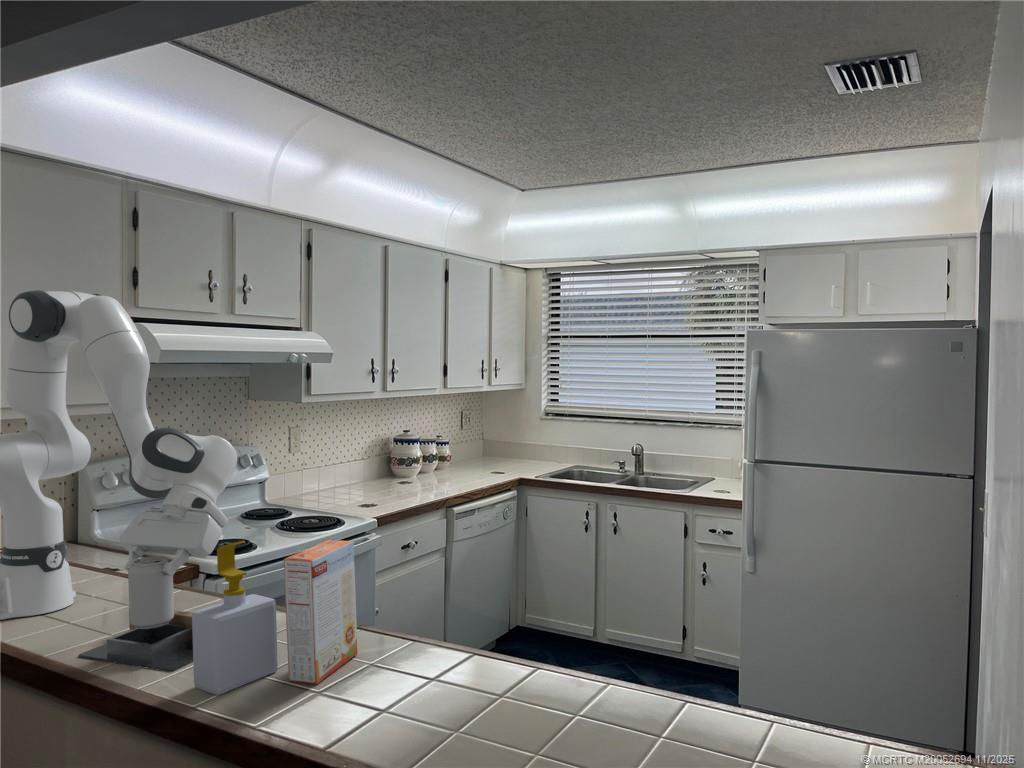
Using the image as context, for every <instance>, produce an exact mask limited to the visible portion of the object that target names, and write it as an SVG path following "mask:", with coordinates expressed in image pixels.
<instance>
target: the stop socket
mask: <svg viewBox="0 0 1024 768" xmlns="http://www.w3.org/2000/svg"><path fill="white" fill-rule="evenodd" d="M78 658H83V659H89V658H93V659H92V660H95V659H98V660H97V661H101V660H105V661H104V662H107V661H110V662H109V663H113V662H116V663H115V664H119V663H120V664H121V665H126V666H132V665H133V666H132V667H138V666H141V667H140V668H144V667H148V668H147V669H150V668H153V669H152V670H157V669H158V671H163V670H164V671H163V672H171V673H172V672H175V671H177V670H179V669H181V668H183V667H185V666H187V665H189V664H191V663H193V632H192V626H184V625H177V624H169V623H168V624H166V625H163V626H161V627H157V628H151V629H139V628H135V629H132V630H130V629H129V630H128V631H125V632H122V633H120V634H118V635H115V636H112V637H110V638H107V639H106V643H103V644H101V645H99V646H96V647H93V648H91V649H89V650H85V651H83V652H82V653H80V654H78ZM190 662H191V663H190Z"/></svg>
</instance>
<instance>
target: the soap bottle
mask: <svg viewBox="0 0 1024 768" xmlns="http://www.w3.org/2000/svg"><path fill="white" fill-rule="evenodd" d="M244 543H245V540H240V541H236V542H235V541H234V542H231V543H228V544H225V545H221V546H218V548H217V549H216V557H217V558H216V560H217V561H216V563H217V572H218V575H219V576H222V577H224V579H225V581H224V582H227V583H228V587H227V588H224V590H223V602H221V603H217V604H215V605H211V606H207V607H204V608H201V609H197V610H195V611H193V612H192V613H193V614H192V632H193V662H192V663H193V664H192V665H193V666H192V667H193V684H194V687H195V688H197V689H199V690H202V691H203V692H206V693H210V694H212V695H216V696H217V695H221V694H224V693H226V692H229V691H231V690H234V689H236V688H239V687H242V686H245V685H246V684H249V683H251V682H254V681H256V680H259V679H261V678H264V677H266V676H268V675H272V674H274V673H276V672H277V671H278V638H277V637H278V634H277V631H278V629H277V602H276V599H274V598H271V597H267V596H262V595H260V594H254V593H252V594H249V595H246V588H245V587H244V586H241V585H240V581H242V580H244V578H243V577H244V575H245V576H246V575H247V574H248V571H245V570H241V569H237V567H236V562H235V561H236V556H235V555H236V554H235V552H236V550H235V549H236V546H238V545H240V544H244Z"/></svg>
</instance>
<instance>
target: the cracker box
mask: <svg viewBox="0 0 1024 768" xmlns="http://www.w3.org/2000/svg"><path fill="white" fill-rule="evenodd" d="M354 545H355V542H354V541H352V540H337V539H328V540H325V541H322V542H320V543H317V544H315V545H313V546H310V547H309V548H308V547H307V548H306V549H304V550H301V551H300V552H297V553H295V554H293V555H289V556H288V557H285V558H284V559H283V571H284V572H283V573H284V574H283V575H284V596H285V597H284V598H285V601H284V602H285V619H286V620H285V621H286V623H285V625H286V643H287V644H286V646H287V648H286V649H287V665H288V666H287V669H288V670H287V671H288V672H287V673H288V674H287V675H288V682H292V683H293V682H295V683H303V684H313V685H318V684H320V683H321V682H322V681H324V680H325V679H326V678H327V677H329V676H330V675H332V674H333V673H334V672H335V671H337V670H338V669H340V668H341V667H342V666H344V665H345V664H347V662H348V661H350V660H351V659H352V658H354V657H355V656H356V655H358V627H357V624H358V623H357V604H356V602H357V601H356V600H357V599H356V576H355V575H356V572H355V568H356V567H355V546H354Z"/></svg>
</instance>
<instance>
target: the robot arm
mask: <svg viewBox="0 0 1024 768" xmlns="http://www.w3.org/2000/svg"><path fill="white" fill-rule="evenodd" d="M16 295H17V294H16ZM8 321H9V325H10V327H11V329H12V330H13V332H14V334H13V337H12V340H11V344H10V348H9V354H8V362H7V363H8V364H7V375H6V390H5V400H6V403H7V405H8V406H9V407H10V409H12V410H13V411H14V412H15V413H18V414H20V415H21V416H24V417H25V420H26V423H27V431H20V432H11V433H9V432H7V433H0V511H1V515H2V520H3V521H2V522H3V530H4V546H3V547H1V548H0V620H7V619H13V618H21V617H22V618H23V617H32V616H38V615H42V614H47V613H51V612H56V611H59V610H62V609H64V608H67V607H69V606H70V605H72V604H73V603H75V599H74V598H75V597H76V596H77V593H76V590H74V589H73V584H72V577H71V571H70V564H69V562H68V561H67V560H66V557H67V549H68V546H67V540H65V539H64V520H63V519H64V518H63V516H64V515H63V508H62V505H60V503H59V502H58V501H57V500H55V499H52V498H50V497H47V496H45V495H44V494H43V493H42V491H41V489H40V485H39V484H40V483H39V481H42V480H43V481H44V480H49V479H56V478H62V477H65V476H68V475H71V474H73V473H76V472H79V471H81V470H83V469H84V468H86V466H87V465H88V464H89V461H90V460H91V455H92V448H91V447H92V446H91V444H90V442H89V439H88V437H86V435H85V434H84V433H83V432H81V431H80V430H78V428H76V426H75V425H74V424H73V421H71V418H70V415H69V413H68V409H67V401H66V399H67V397H66V396H67V372H68V353H69V350H70V348H71V347H72V346H73V345H75V344H77V343H79V344H80V347H81V349H82V352H83V353H84V356H85V358H86V360H87V363H88V365H89V367H90V369H91V371H92V373H93V374H94V376H95V378H96V380H97V383H98V384H99V387H100V388H101V390H102V392H103V395H104V398H105V399H106V401H107V403H108V406H109V407H110V410H111V413H112V416H113V418H114V421H115V424H116V427H117V429H118V431H119V433H120V437H121V440H122V442H123V444H124V446H125V449H126V450H125V451H126V452H127V455H128V459H129V460H128V461H129V465H128V466H129V468H128V481H129V483H130V485H131V487H132V489H133V490H134V491H135V492H136V493H137V494H139V495H141V496H143V497H145V498H150V499H161V498H162V499H163V498H164V499H163V502H161V505H159V507H149V508H147V509H145V510H144V511H141V512H140V513H138V514H137V515H136V516H135V517H134V518H132V520H131V522H129V524H128V525H127V526H126V527H125V529H124V530H123V532H121V533H122V534H120V536H119V538H118V539H119V541H118V542H119V544H120V545H121V546H122V547H123V549H125V550H126V551H127V552H128V560H127V563H126V564H125V565H124V570H126V571H127V572H128V570H129V569H130V568H131V567H132V562H133V561H134V560H137V559H140V558H143V556H144V554H153V555H155V554H156V555H164V556H165V555H167V556H175V557H174V558H172V560H171V561H169V563H166V564H165V565H164V568H163V569H162V573H164V575H167V576H173V577H174V575H175V573H176V572H177V570H178V569H179V568H180V567H182V566H183V565H184V564H186V563H187V562H188V560H189V558H191V557H192V558H199V559H200V558H202V559H205V558H207V557H208V556H210V555H211V554H212V553H213V551H214V549H215V548H216V546H217V544H218V542H219V540H220V538H221V536H222V534H223V528H225V527H226V526H227V524H228V523H229V519H228V517H227V516H226V515H225V514H224V512H223V511H222V510H221V509H220V508H219V507H218V506H217V505H216V504H217V500H218V497H219V496H220V494H222V493H223V492H224V490H225V488H226V487H227V486H228V484H229V482H230V481H231V478H232V477H233V474H234V472H235V469H236V466H237V463H238V453H237V450H236V449H235V447H234V446H233V444H232V443H230V441H228V440H227V439H225V438H223V437H221V436H218V435H215V434H213V435H211V434H210V435H205V436H204V435H202V436H201V435H200V436H199V435H194V434H189V433H185V432H183V431H181V430H179V429H176V428H173V427H160V428H156V429H155V428H154V426H153V423H152V420H151V418H150V415H149V411H148V409H147V408H148V407H147V388H148V387H147V386H148V381H149V375H150V370H151V369H150V368H151V363H150V358H149V354H148V351H147V347H146V345H145V342H144V340H143V338H142V336H141V334H140V332H139V330H138V328H137V326H136V324H135V322H134V321H133V319H132V318H131V316H130V315H129V313H128V312H127V311H126V310H125V308H124V307H123V306H122V304H121V303H120V302H119V301H118V300H117V299H115V298H113V297H111V296H108V295H102V294H98V293H92V294H91V293H86V292H80V291H74V290H65V291H62V290H60V291H59V290H58V291H57V290H55V291H54V290H50V291H48V290H47V291H46V290H45V291H43V290H40V289H39V290H38V289H37V290H30V291H25V292H21V293H18V295H17V296H15V298H14V299H13V300H12V302H11V304H10V306H9V310H8Z"/></svg>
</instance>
